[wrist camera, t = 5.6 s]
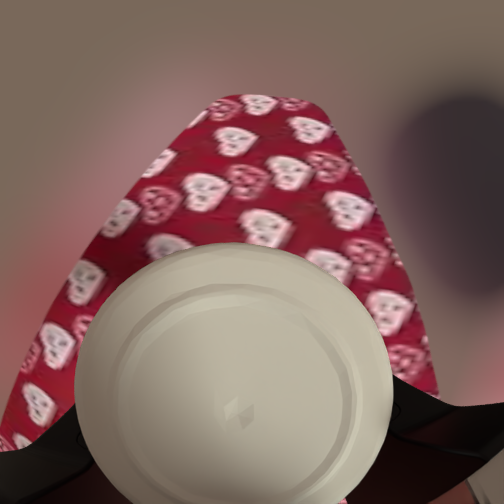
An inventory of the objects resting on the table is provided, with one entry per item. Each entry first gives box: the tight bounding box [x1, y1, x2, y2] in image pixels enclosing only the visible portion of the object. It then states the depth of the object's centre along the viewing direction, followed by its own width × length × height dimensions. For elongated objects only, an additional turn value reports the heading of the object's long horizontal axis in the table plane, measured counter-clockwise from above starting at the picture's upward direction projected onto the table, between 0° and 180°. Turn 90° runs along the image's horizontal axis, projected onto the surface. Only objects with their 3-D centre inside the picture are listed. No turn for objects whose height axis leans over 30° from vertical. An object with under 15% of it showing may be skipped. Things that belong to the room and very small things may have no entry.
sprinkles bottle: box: [74, 243, 393, 504], centre depth 9 cm, size 5×5×13 cm
